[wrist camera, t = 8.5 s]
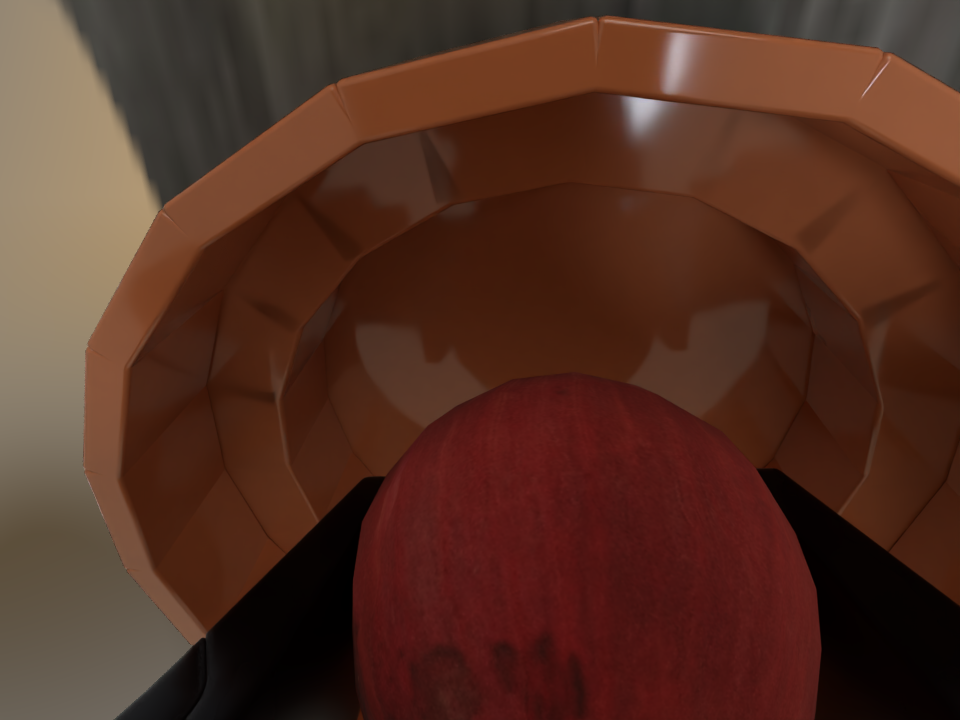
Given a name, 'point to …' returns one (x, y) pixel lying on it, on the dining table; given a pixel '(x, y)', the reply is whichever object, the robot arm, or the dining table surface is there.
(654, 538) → the onion
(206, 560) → the bowl
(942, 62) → the dining table surface
